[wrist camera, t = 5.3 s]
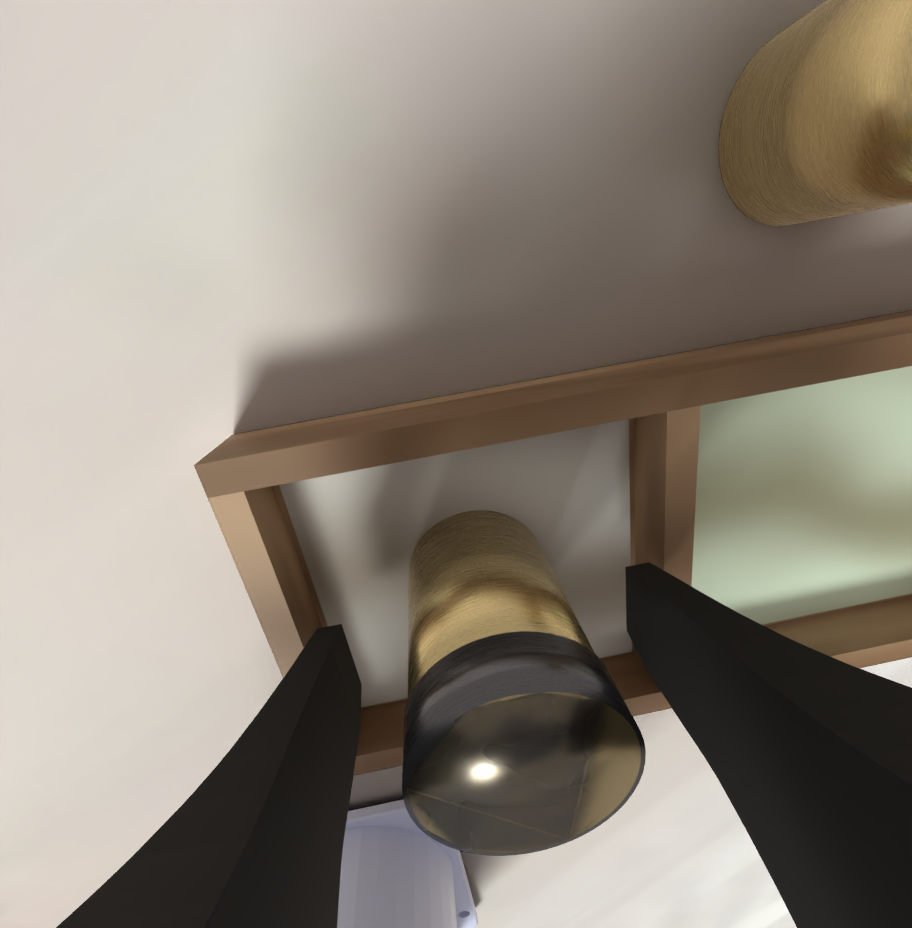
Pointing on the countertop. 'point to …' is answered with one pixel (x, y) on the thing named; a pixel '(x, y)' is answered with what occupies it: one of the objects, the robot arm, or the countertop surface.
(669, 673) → the robot arm
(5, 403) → the countertop surface
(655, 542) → the holder
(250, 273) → the countertop surface
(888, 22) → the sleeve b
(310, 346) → the countertop surface
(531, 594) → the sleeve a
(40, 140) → the countertop surface
